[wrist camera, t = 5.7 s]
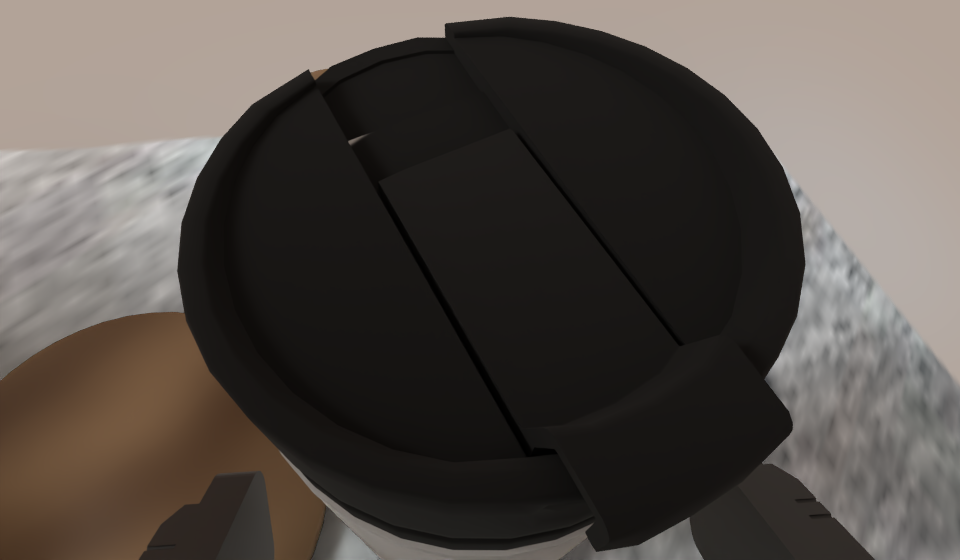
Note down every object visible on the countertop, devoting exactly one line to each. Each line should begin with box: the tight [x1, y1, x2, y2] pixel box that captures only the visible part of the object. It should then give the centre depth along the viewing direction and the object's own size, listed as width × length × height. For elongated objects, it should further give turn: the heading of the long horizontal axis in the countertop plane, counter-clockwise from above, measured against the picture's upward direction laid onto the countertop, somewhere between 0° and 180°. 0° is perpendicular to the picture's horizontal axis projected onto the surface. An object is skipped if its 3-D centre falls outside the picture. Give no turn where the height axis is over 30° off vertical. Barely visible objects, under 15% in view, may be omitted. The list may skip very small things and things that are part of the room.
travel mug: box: [177, 17, 805, 560], centre depth 15 cm, size 6×7×20 cm
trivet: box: [0, 312, 326, 560], centre depth 23 cm, size 14×14×1 cm
